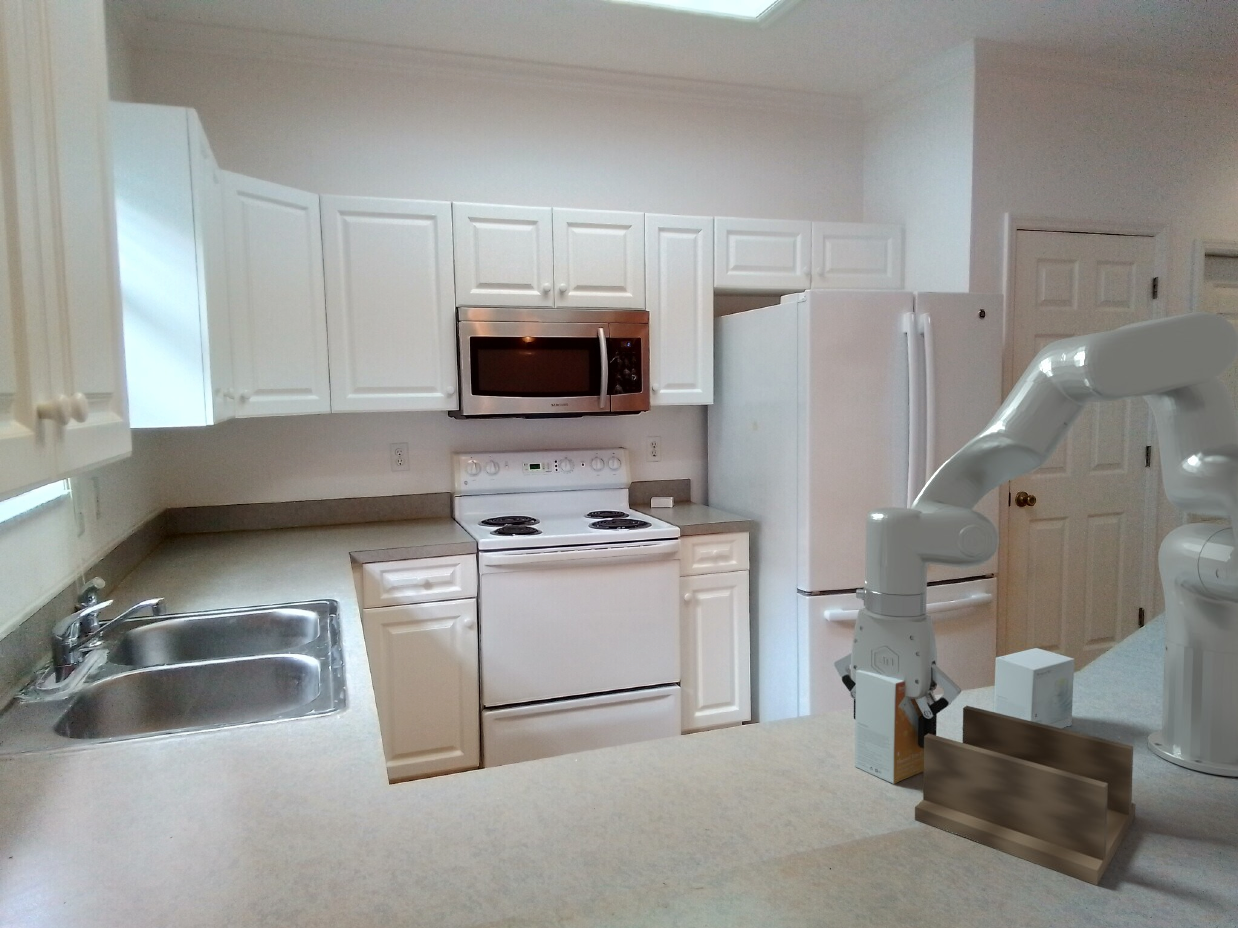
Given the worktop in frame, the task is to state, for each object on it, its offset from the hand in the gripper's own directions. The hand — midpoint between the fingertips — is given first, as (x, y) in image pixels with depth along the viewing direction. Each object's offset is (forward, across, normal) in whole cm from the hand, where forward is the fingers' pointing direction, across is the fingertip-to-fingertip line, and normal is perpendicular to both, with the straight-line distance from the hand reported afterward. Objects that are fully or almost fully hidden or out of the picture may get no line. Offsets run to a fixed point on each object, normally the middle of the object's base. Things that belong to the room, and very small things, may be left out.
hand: (893, 734), depth 99 cm
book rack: (+4, +16, -2) cm, 17 cm away
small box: (+5, 0, 0) cm, 5 cm away
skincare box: (+5, +9, +28) cm, 30 cm away
